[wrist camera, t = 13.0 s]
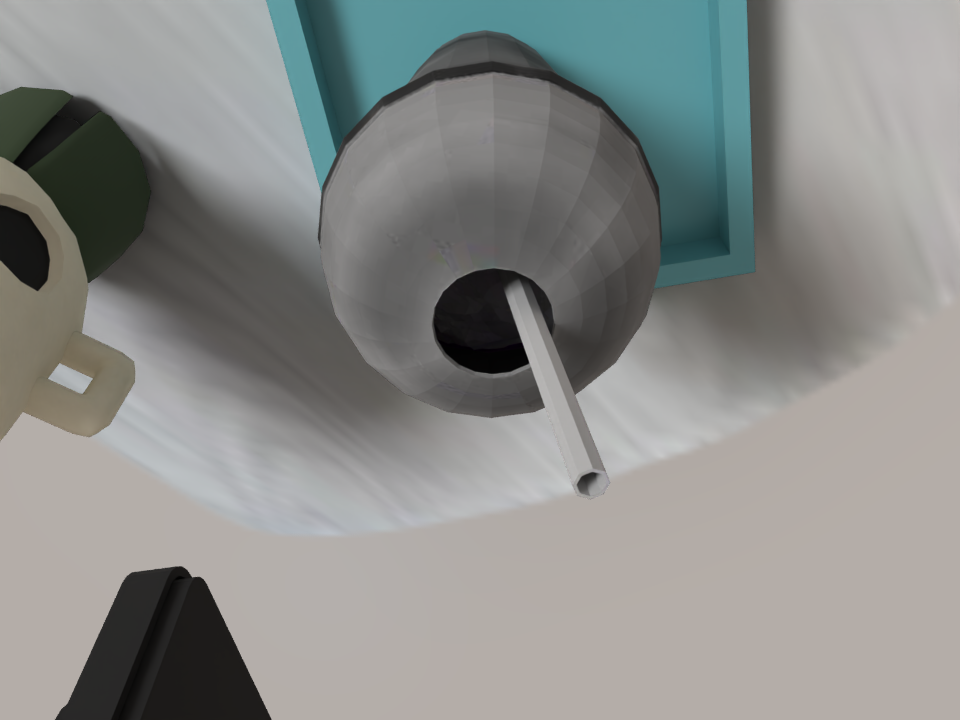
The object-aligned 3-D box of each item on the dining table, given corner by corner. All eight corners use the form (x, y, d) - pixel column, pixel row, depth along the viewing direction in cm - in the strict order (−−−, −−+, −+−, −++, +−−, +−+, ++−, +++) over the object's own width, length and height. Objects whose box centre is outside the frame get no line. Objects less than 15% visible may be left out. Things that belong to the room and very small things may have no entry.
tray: (722, -192, 26) (740, -192, 24) (739, 246, 33) (755, 272, 31) (256, -95, 27) (241, -87, 25) (368, 308, 34) (362, 336, 32)
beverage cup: (364, -19, 28) (176, 220, 10) (606, -19, 28) (832, 222, 10) (376, 211, 31) (252, 680, 14) (591, 211, 31) (738, 680, 14)
